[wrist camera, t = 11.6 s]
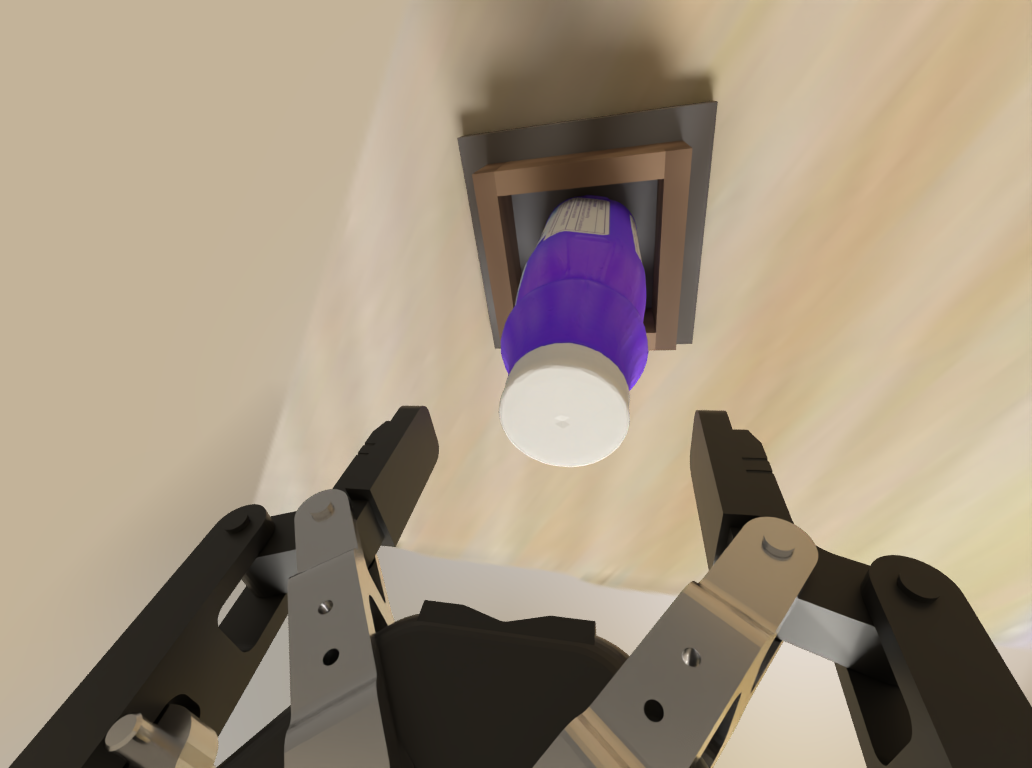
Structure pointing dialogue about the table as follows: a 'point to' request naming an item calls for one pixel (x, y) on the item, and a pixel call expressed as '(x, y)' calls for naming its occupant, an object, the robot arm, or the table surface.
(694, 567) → the table surface
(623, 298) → the bottle
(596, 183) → the open box
